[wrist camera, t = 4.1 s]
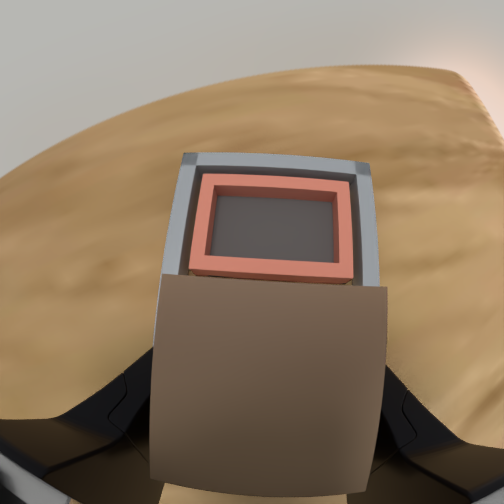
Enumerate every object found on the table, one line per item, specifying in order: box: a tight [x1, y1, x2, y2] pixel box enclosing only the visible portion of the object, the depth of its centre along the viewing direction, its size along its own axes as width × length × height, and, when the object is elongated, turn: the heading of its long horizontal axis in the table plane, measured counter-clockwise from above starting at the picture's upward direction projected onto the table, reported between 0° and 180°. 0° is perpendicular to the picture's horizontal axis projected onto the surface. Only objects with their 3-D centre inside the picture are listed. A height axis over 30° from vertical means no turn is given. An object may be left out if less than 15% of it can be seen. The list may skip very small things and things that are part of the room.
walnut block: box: [149, 273, 387, 497], centre depth 10 cm, size 4×4×11 cm
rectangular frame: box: [189, 174, 353, 284], centre depth 17 cm, size 6×9×2 cm, turn 86°
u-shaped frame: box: [153, 153, 379, 346], centre depth 16 cm, size 18×12×2 cm, turn 176°
